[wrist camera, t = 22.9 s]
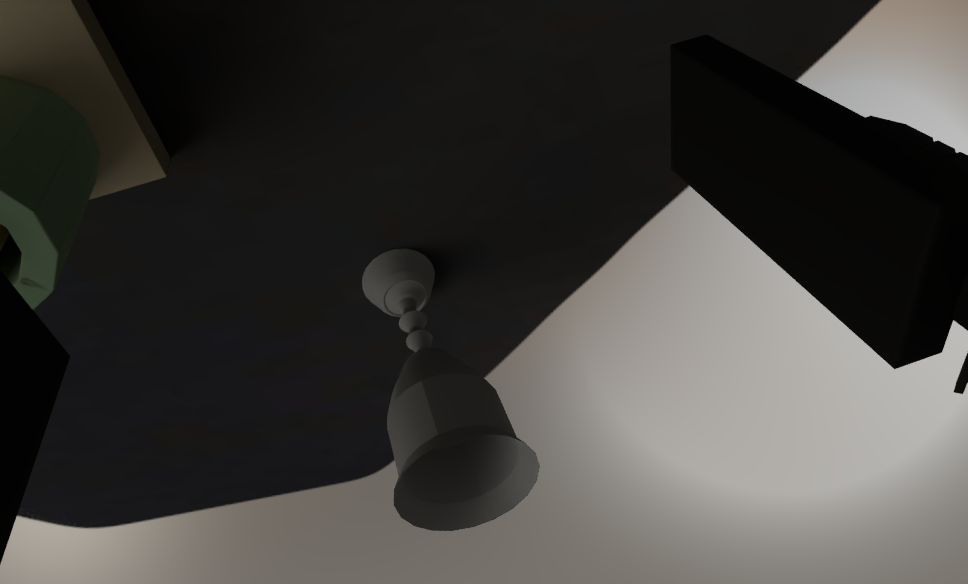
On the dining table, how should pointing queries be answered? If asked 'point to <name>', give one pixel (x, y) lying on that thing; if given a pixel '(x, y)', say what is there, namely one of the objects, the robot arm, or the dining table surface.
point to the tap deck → (83, 85)
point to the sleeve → (41, 184)
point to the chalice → (444, 416)
